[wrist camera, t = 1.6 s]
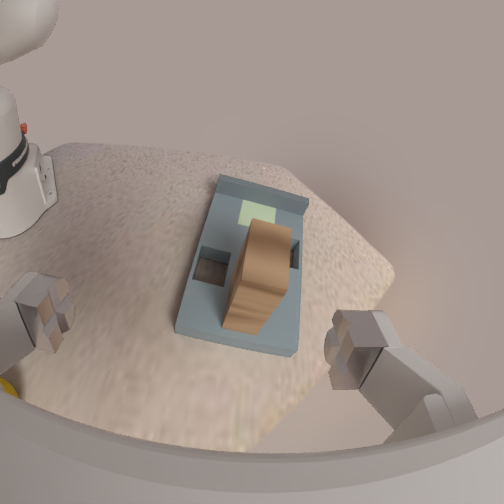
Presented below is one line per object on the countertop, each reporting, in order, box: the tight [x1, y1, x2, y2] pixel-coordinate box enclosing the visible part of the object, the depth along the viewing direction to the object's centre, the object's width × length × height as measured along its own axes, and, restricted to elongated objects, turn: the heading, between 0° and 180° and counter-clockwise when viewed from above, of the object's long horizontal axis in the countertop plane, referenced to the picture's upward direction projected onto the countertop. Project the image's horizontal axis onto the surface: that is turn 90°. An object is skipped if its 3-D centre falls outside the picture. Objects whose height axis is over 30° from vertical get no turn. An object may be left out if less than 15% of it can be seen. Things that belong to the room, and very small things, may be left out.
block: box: [222, 218, 292, 335], centre depth 35 cm, size 8×4×12 cm, turn 172°
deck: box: [175, 174, 309, 357], centre depth 44 cm, size 26×16×6 cm, turn 172°
